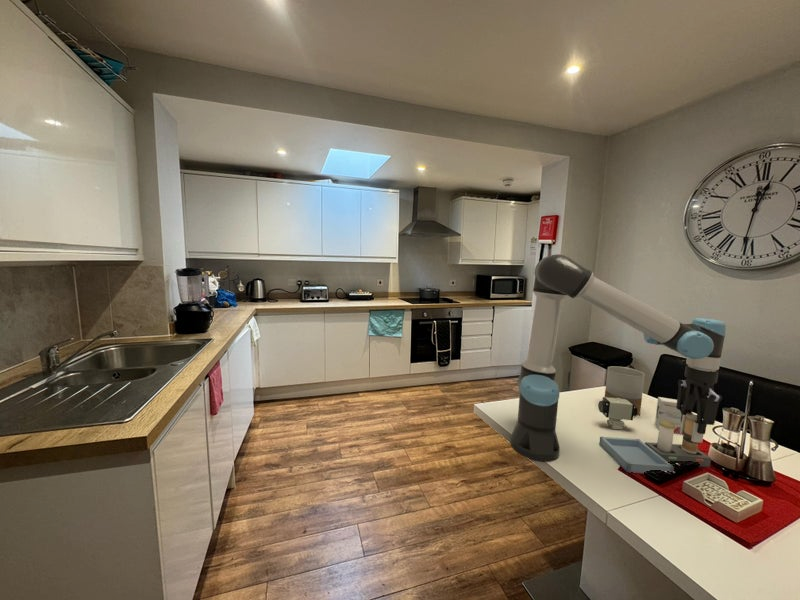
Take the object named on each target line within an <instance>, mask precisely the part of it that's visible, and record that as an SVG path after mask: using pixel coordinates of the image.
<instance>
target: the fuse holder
mask: <svg viewBox="0 0 800 600" xmlns="http://www.w3.org/2000/svg"><path fill="white" fill-rule="evenodd" d="M644 443H645V444H646V445H647V446H648V447H650V448H651V449H652V450H653V451H655V452H656V453H657V454H658V455H660V456H661V457H662V458H663V459H665V460H666V461H667V462H670V461H693V462H698V463H699V464H700V466H699V467H701V468H702V467H704V468H710V467H711V461H712V457H710V456H708V455H707V454H706V453H704V452H703V451H701V450H700V449H698V448H697V454H696V455H692V454H688V453H686V452H684V451H683V450H682V449H681V446H682V444H676V443H672V448H671V453H664V452H661V451H660V450H658V449H657V442H647V441H645V442H644Z"/></svg>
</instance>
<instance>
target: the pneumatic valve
mask: <svg viewBox="0 0 800 600" xmlns="http://www.w3.org/2000/svg"><path fill="white" fill-rule="evenodd" d="M597 404H598V411H599V412H600V413H602V414H603V416H605V418H608V419H607V420H606V425H607V426H608V427H610V429H612V430H617V431H622V430H624V429H625V425H626V424H625V422H624V421H623V420H626V421H634V417H637V416H638V415H637V413H638V410H637V407H636V405H634V404H633V403H632V402H630V401H629V400H626V399H620V398H607V397H605V396H603V397H602V399H601V400H599V401H598V403H597Z"/></svg>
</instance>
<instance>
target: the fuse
mask: <svg viewBox="0 0 800 600" xmlns="http://www.w3.org/2000/svg"><path fill="white" fill-rule="evenodd" d="M659 424H660V426H659V430H658V435H657V440H656V441H657V442H656V443H657V449H658V450H660V451H661V452H664V453H671V448H672V444H673V441H674V440H673V439H674V434H675V433H674V428H675V424H674V423H673V422H670V421H667V420H660V423H659Z"/></svg>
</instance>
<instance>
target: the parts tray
mask: <svg viewBox="0 0 800 600" xmlns="http://www.w3.org/2000/svg"><path fill="white" fill-rule="evenodd" d="M598 444H599V446H600V447H602V448H603V450H604V451H605V452H606V453H607V454H609V456H610V457H611V458H613V459H614V461H615V462H616V463H617V464H618V465H620V467H621V468H622V469H624V471H626V473H631V472H633V473H634V474H644V472H646V471H650V470H661V471H669V472H673V473H674V470H675V466H673V464H670V463H668V462H667V461H666V460H665V459H663V458H662V457H661V456H660V455H658V454H657V453H656V452H655V451H653V450H652V449H651V448H650V447H648V446H647V445H646V444H645V442H644V441H642V440H641V439H640V438H639V439H638V438H624V437H614V436H613V437H610V436H599V441H598ZM633 473H632V474H633Z"/></svg>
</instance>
